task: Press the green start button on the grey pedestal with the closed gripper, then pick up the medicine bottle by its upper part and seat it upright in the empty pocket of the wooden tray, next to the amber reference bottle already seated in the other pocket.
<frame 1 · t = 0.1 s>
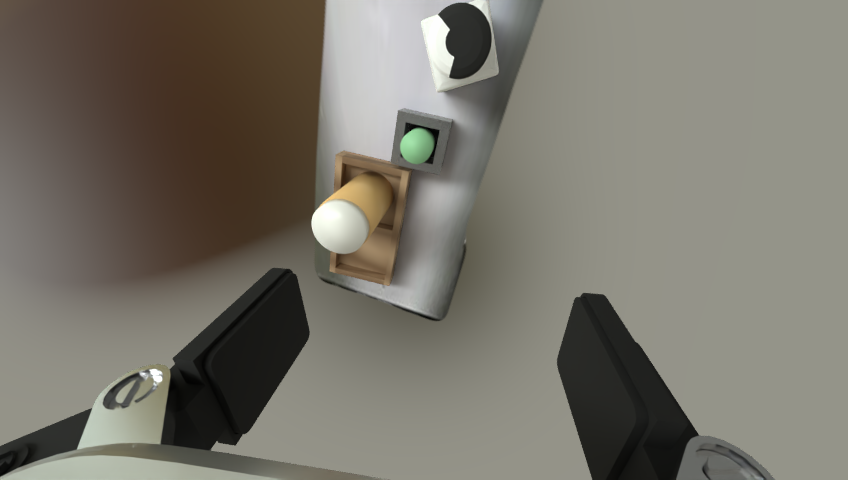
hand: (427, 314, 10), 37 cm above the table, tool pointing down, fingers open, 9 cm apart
start button: (418, 145, 39), point 5 cm above the table, slide at 0.0 cm
button pedestal: (423, 139, 43), on the table
wooden tray: (370, 219, 51), on the table
reference bottle: (371, 193, 47), point 1 cm above the table, touching wooden tray
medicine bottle: (462, 54, 38), on the table
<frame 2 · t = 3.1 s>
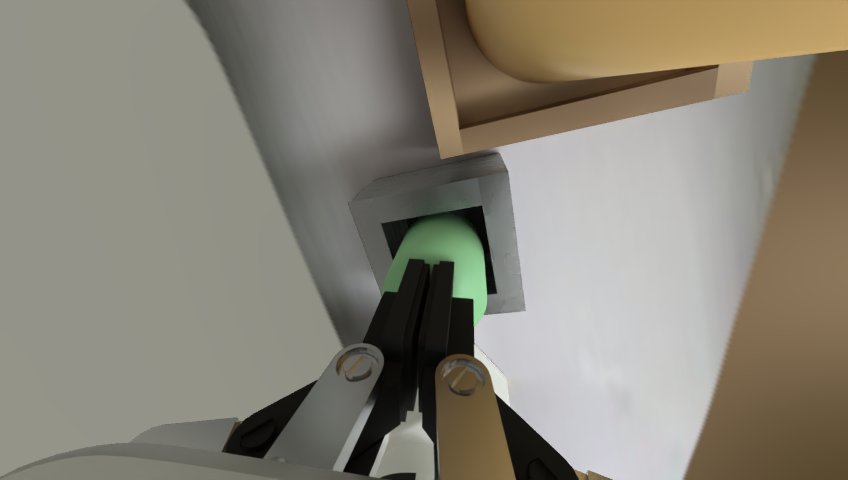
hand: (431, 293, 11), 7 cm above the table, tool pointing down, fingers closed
start button: (438, 270, 13), point 5 cm above the table, slide at 0.1 cm, touching gripper
button pedestal: (446, 225, 17), on the table
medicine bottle: (441, 362, 23), on the table
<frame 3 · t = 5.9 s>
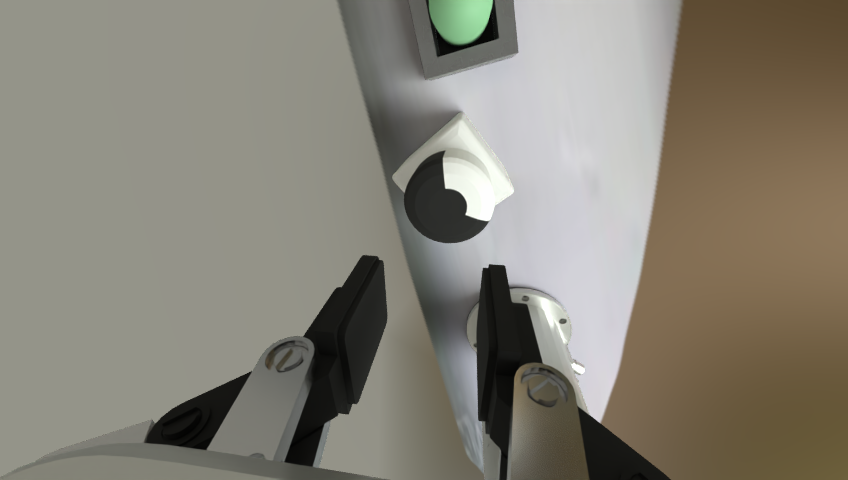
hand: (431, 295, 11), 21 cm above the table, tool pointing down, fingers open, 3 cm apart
start button: (461, 9, 20), point 5 cm above the table, slide at 0.5 cm
button pedestal: (462, 21, 24), on the table
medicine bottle: (455, 163, 30), on the table
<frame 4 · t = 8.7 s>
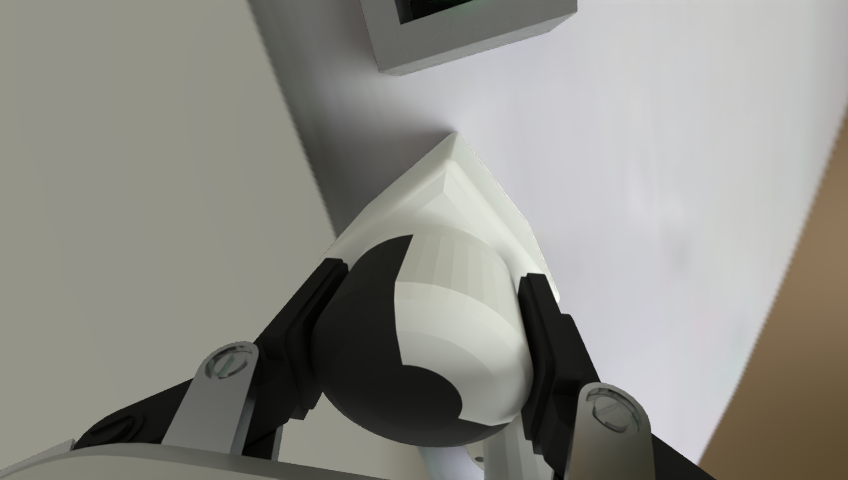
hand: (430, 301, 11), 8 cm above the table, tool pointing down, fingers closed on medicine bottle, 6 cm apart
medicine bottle: (446, 214, 18), on the table, touching gripper
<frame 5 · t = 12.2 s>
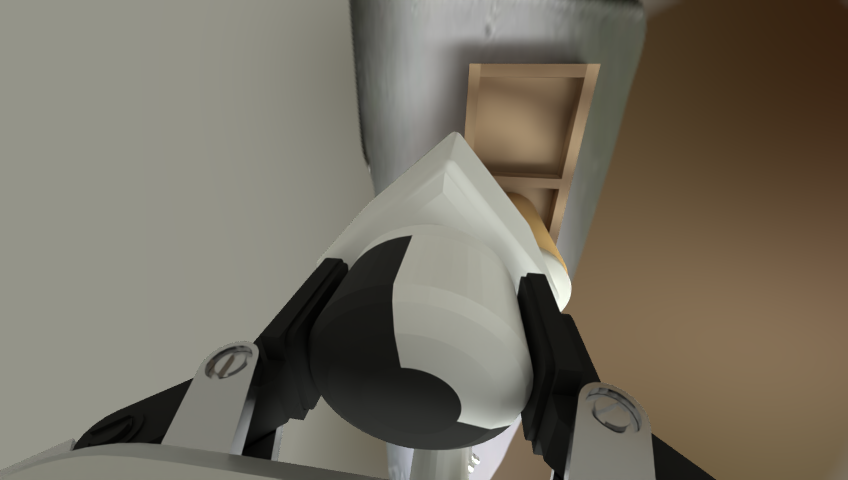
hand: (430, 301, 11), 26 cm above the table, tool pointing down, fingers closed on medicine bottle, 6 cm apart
wooden tray: (511, 174, 33), on the table
reference bottle: (506, 221, 35), point 1 cm above the table, touching wooden tray
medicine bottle: (446, 215, 18), point 17 cm above the table, touching gripper
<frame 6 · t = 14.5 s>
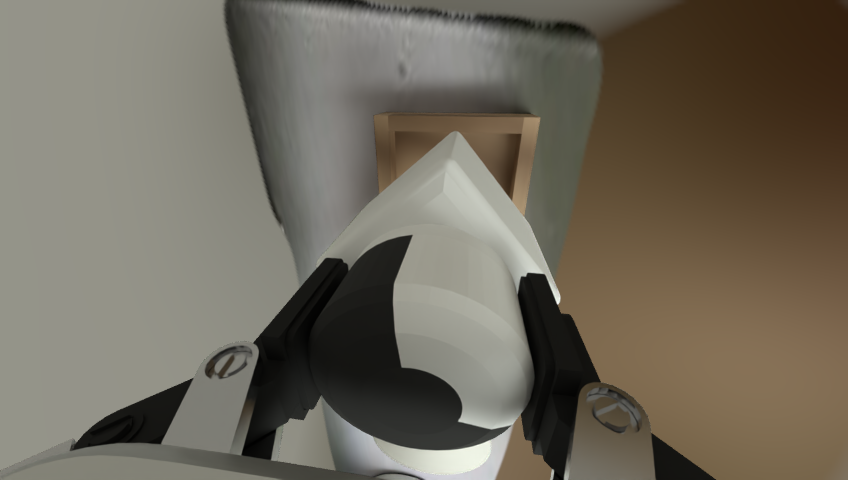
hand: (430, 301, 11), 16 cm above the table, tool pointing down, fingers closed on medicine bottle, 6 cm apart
wooden tray: (450, 237, 27), on the table
reference bottle: (447, 292, 28), point 1 cm above the table, touching wooden tray
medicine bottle: (446, 214, 18), point 8 cm above the table, touching gripper
when the fingers open (11 cm above the table, at t = 16.0 s): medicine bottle stays where it is, resting on wooden tray.
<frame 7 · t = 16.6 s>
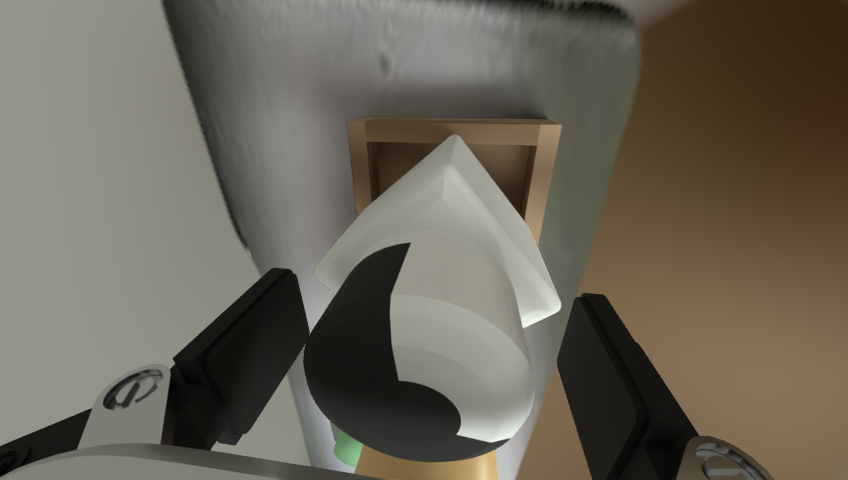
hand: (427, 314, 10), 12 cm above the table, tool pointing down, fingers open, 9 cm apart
start button: (364, 430, 26), point 5 cm above the table, slide at 0.5 cm
wooden tray: (446, 266, 23), on the table
reference bottle: (443, 329, 24), point 1 cm above the table, touching wooden tray
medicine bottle: (445, 218, 18), point 3 cm above the table, touching wooden tray
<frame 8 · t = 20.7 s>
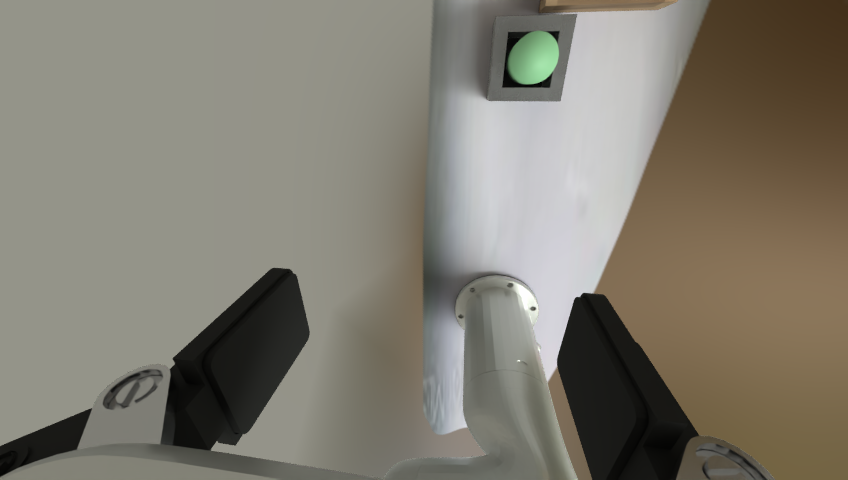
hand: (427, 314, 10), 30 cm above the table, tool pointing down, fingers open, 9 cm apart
start button: (530, 60, 28), point 5 cm above the table, slide at 0.5 cm
button pedestal: (523, 63, 32), on the table
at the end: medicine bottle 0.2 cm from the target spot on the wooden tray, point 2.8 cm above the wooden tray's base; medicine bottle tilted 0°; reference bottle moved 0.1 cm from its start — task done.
